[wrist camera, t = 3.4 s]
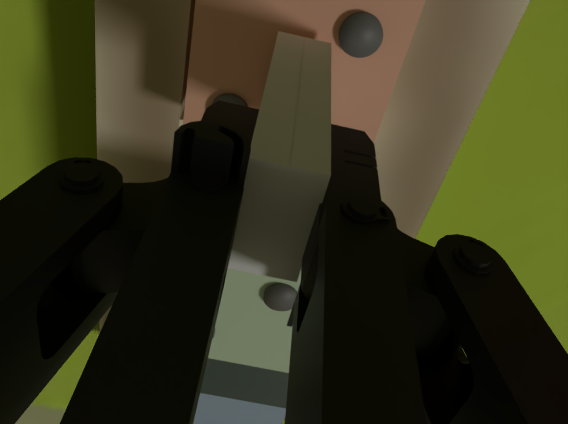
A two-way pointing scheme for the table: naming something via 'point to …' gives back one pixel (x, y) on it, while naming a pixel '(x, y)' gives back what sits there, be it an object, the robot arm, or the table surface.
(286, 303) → the tile
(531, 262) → the table surface
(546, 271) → the table surface
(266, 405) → the grey block
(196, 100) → the pink toy block
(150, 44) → the wooden block tray
